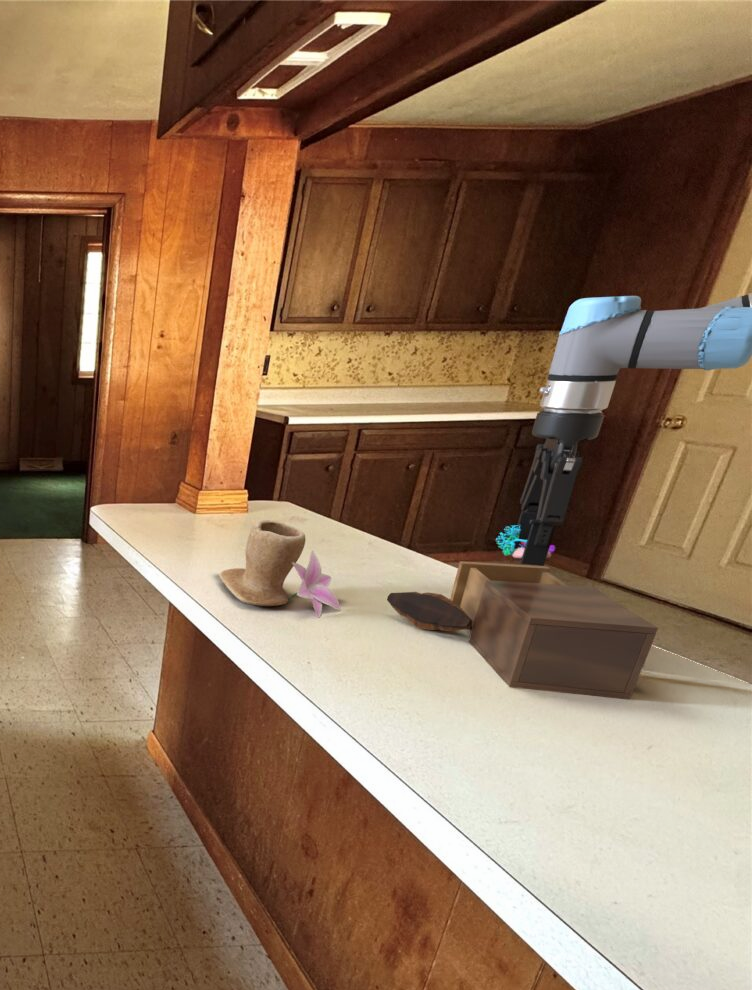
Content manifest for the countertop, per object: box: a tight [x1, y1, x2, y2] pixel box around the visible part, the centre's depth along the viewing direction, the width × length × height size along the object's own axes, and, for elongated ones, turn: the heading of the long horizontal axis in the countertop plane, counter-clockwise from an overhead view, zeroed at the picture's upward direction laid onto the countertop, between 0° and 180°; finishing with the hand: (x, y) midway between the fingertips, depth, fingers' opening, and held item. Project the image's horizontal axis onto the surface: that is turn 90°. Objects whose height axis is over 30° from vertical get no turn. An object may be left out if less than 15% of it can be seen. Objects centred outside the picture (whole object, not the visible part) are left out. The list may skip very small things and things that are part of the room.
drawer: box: [449, 560, 567, 627], centre depth 112 cm, size 20×13×9 cm, turn 162°
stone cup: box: [218, 519, 306, 607], centre depth 127 cm, size 15×12×15 cm
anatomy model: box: [495, 524, 556, 559], centre depth 106 cm, size 5×8×7 cm
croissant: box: [386, 591, 473, 632], centre depth 113 cm, size 14×7×5 cm
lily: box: [288, 550, 342, 618], centre depth 123 cm, size 12×12×10 cm
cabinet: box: [468, 580, 659, 700], centre depth 98 cm, size 16×14×11 cm
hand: (526, 557), depth 107 cm, fingers closed on anatomy model, 7 cm apart
